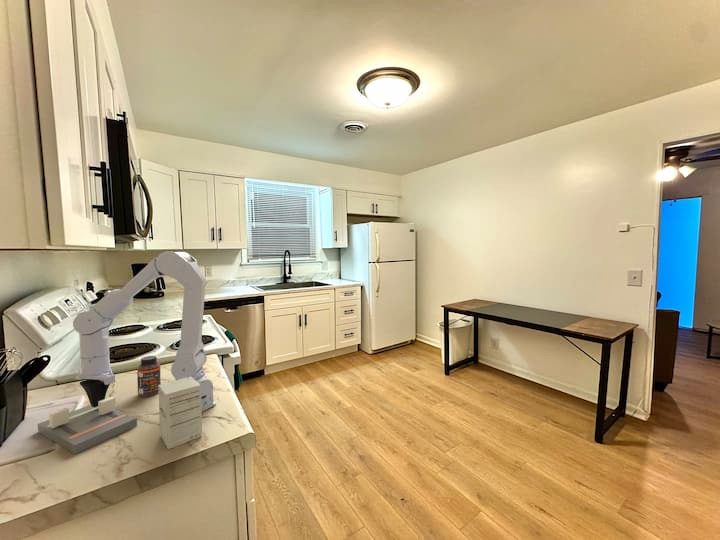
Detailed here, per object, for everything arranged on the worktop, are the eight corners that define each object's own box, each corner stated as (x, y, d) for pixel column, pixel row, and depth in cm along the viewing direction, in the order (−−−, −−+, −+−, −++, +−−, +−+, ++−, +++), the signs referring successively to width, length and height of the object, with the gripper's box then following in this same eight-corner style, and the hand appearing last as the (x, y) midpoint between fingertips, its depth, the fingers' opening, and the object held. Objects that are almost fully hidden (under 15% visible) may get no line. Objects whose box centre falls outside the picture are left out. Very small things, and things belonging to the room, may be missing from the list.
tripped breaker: (115, 409, 78) (115, 397, 78) (101, 415, 75) (101, 402, 75) (112, 408, 79) (112, 396, 79) (98, 413, 76) (98, 401, 76)
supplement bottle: (141, 399, 89) (140, 362, 88) (135, 394, 92) (133, 358, 92) (164, 392, 93) (163, 356, 93) (157, 387, 97) (155, 353, 97)
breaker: (69, 421, 72) (68, 408, 72) (52, 428, 70) (52, 414, 70) (66, 420, 73) (65, 407, 73) (49, 426, 70) (49, 413, 70)
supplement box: (159, 436, 70) (157, 384, 70) (193, 424, 76) (192, 375, 75) (166, 450, 65) (164, 394, 65) (203, 436, 70) (201, 384, 70)
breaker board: (137, 425, 75) (136, 417, 75) (75, 454, 64) (74, 444, 64) (98, 409, 83) (98, 401, 83) (38, 431, 72) (37, 423, 72)
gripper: (62, 355, 78) (65, 406, 79) (89, 364, 72) (92, 419, 72) (95, 348, 85) (97, 395, 85) (123, 355, 78) (125, 406, 79)
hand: (97, 405), depth 79 cm, fingers closed
